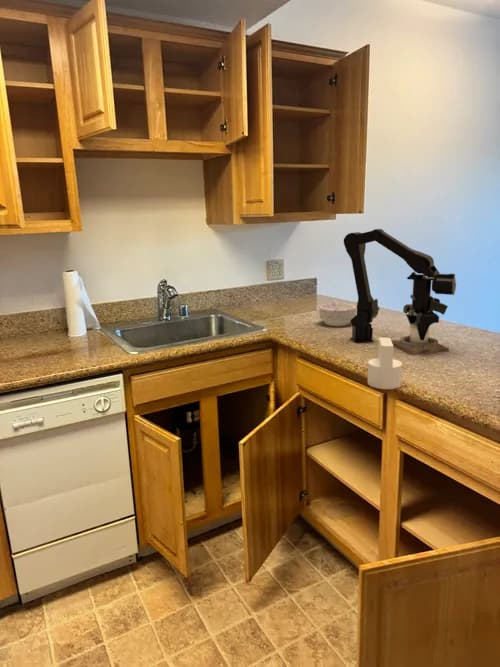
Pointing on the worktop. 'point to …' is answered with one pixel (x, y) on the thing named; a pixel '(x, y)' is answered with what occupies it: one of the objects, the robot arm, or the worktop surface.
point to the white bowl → (337, 313)
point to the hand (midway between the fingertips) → (418, 337)
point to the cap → (417, 335)
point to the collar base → (415, 351)
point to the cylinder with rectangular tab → (384, 367)
